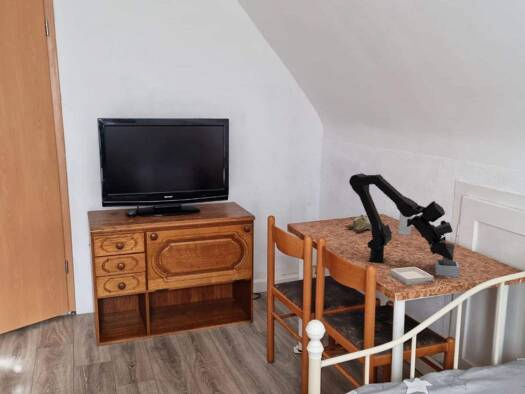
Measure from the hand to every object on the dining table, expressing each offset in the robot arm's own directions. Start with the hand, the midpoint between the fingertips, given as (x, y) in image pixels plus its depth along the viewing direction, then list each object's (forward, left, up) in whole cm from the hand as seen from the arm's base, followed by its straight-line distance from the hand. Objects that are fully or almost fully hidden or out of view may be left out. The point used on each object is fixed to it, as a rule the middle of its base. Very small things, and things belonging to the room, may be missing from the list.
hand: (451, 257), depth 201 cm
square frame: (0, -1, -7) cm, 7 cm away
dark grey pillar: (0, -1, -7) cm, 7 cm away
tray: (+12, -15, -7) cm, 21 cm away
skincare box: (-57, -17, -7) cm, 60 cm away
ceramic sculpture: (-57, -40, -7) cm, 70 cm away
